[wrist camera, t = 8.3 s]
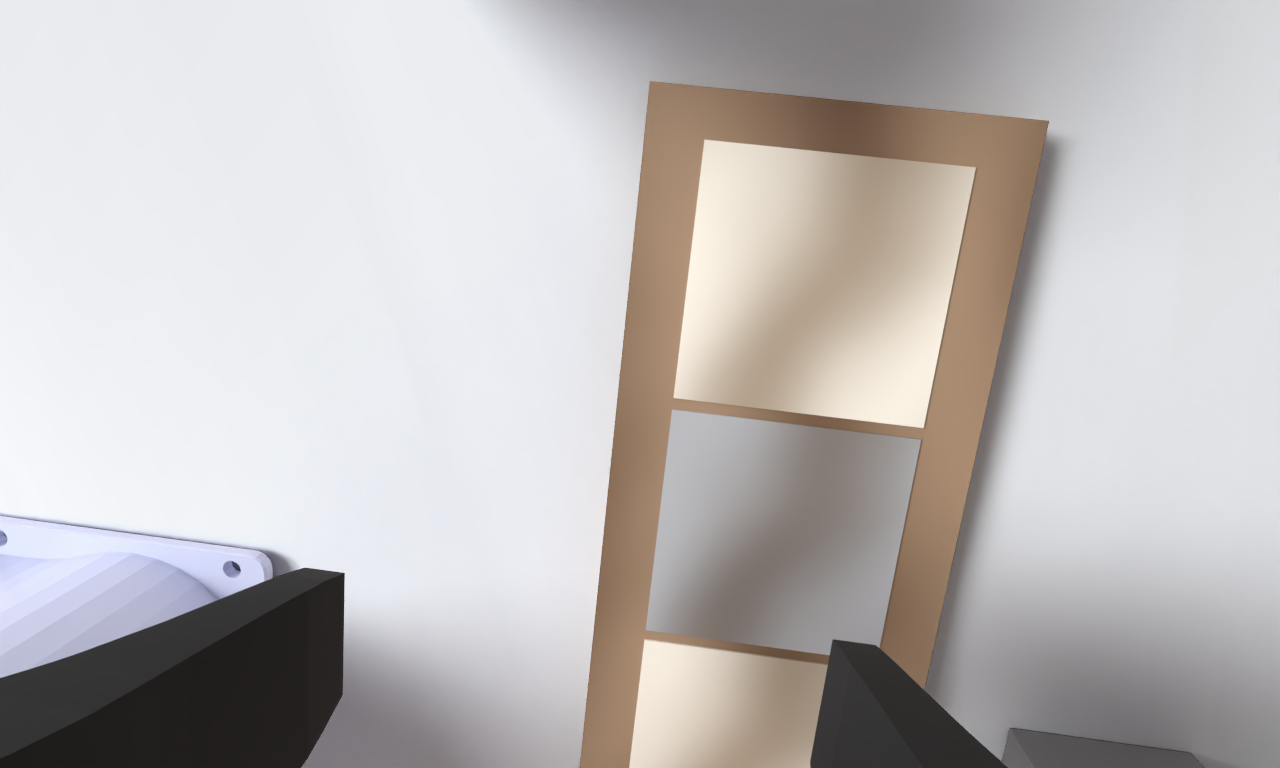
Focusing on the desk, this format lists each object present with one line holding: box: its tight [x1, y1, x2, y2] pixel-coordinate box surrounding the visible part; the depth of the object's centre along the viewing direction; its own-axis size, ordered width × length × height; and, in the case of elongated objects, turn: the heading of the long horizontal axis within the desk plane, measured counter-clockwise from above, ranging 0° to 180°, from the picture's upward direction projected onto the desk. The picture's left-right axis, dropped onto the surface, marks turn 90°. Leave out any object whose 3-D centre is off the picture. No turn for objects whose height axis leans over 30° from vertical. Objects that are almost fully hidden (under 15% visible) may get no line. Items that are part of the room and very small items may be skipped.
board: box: [580, 81, 1049, 768], centre depth 20 cm, size 9×28×1 cm, turn 174°
